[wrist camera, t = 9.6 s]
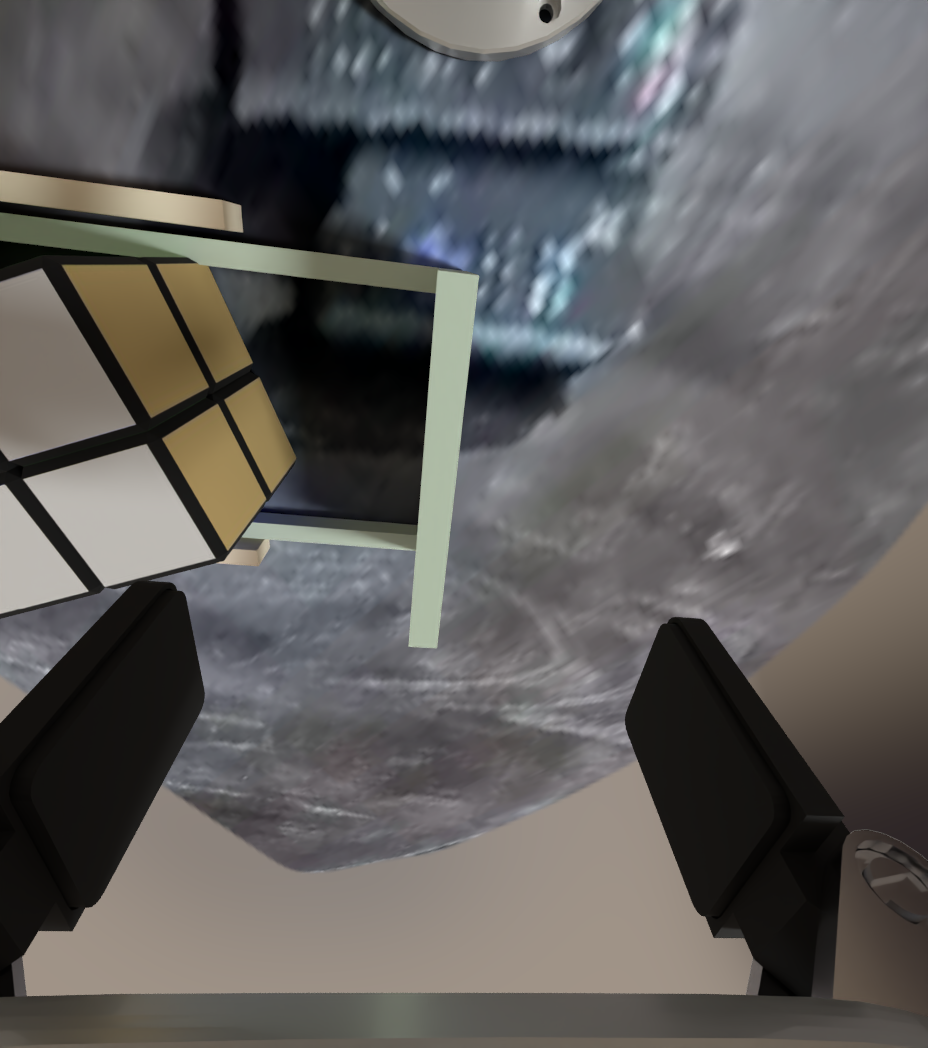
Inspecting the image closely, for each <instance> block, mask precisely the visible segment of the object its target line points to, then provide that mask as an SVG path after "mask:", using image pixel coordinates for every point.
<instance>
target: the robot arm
mask: <svg viewBox="0 0 928 1048" xmlns="http://www.w3.org/2000/svg"><path fill="white" fill-rule="evenodd" d="M370 1H371V2H372V4H373V5H374V6H375V7H376V9H377V10H378V11H380V12H381V13H382V14H383V15H384V16H385V17H386V18H387V19H389V20H390V21H391V22H392V23H393V24H394V25H395V26H397V27H398V28H399V29H400V30H401V31H402V32H403V33H405V34H406V35H408V36H409V37H411V38H413V39H415V40H416V41H418V42H420V43H422V44H423V45H425V46H427V47H429V48H430V49H432V50H434V51H436V52H439V53H443V54H446V55H450V56H453V57H456V58H460V59H463V60H468V61H496V62H498V61H502V60H507V59H512V58H516V57H521V56H525V55H529V54H531V53H533V52H535V51H537V50H539V49H542V48H544V47H546V46H548V45H550V44H552V43H554V42H556V41H558V40H560V39H561V38H562V37H563V36H565V35H566V34H567V33H569V32H570V31H571V30H572V29H574V28H575V27H576V26H577V25H579V24H580V23H581V22H583V21H584V20H585V19H586V18H588V17H589V15H590V14H591V13H592V12H593V11H594V10H595V9H596V7H597V6H598V5H599V4H600V3H601V2H602V1H603V0H370ZM543 9H546V10H548V11H549V12H550V14H551V21H550V22H549V23H544V22H543V21H541V20H540V18H539V12H540V11H541V10H543ZM204 696H205V692H204V686H203V681H202V676H201V671H200V666H199V661H198V656H197V651H196V646H195V641H194V636H193V631H192V626H191V621H190V616H189V611H188V606H187V601H186V596H185V594H184V593H183V592H182V591H177V589H176V586H175V585H174V584H173V583H170V582H155V581H141V580H140V581H136V582H135V583H133V584H132V585H131V586H130V587H129V588H128V589H127V590H126V591H125V592H124V593H123V594H122V596H121V597H120V598H119V599H118V600H117V601H116V602H115V603H114V604H113V605H112V606H111V607H110V608H109V609H108V610H107V611H106V612H105V613H104V614H103V616H102V617H101V618H100V619H99V620H98V621H97V622H96V623H95V624H94V625H93V626H92V627H91V628H90V629H89V630H88V631H87V632H86V633H85V635H84V636H83V637H82V638H81V639H80V640H79V641H78V642H77V643H76V644H75V645H74V646H73V647H72V648H71V649H70V650H69V651H68V652H67V654H66V655H65V656H64V657H63V658H62V659H61V660H60V661H59V662H58V663H57V664H56V665H55V666H54V667H53V668H52V669H51V670H50V671H49V672H48V674H47V675H46V676H45V677H44V678H43V679H42V680H41V681H40V682H39V683H38V684H37V685H36V686H35V687H34V688H33V689H32V690H31V691H30V693H29V694H28V695H27V696H26V697H25V698H24V699H23V700H22V701H21V702H20V703H19V704H18V705H17V706H16V707H15V708H14V709H13V710H12V711H11V713H10V714H9V715H8V716H7V717H6V718H5V719H4V720H3V721H2V722H1V723H0V1048H928V861H927V860H926V859H925V858H924V857H923V856H922V855H920V854H919V853H917V852H916V851H914V850H913V849H912V848H910V847H909V846H907V845H906V844H904V843H903V842H901V841H899V840H896V839H894V838H892V837H890V836H888V835H886V834H883V833H880V832H875V831H872V830H855V831H853V832H852V833H849V831H848V830H847V828H846V827H845V825H844V824H843V823H842V819H843V818H844V815H843V814H842V812H841V811H840V810H839V808H838V807H837V805H836V804H835V803H834V801H833V800H832V798H831V797H830V796H829V794H828V793H827V791H826V790H825V789H824V787H823V786H822V784H821V783H820V781H819V780H818V779H817V777H816V776H815V775H814V773H813V772H812V771H811V769H810V767H809V766H808V765H807V763H806V762H805V760H804V759H803V758H802V756H801V755H800V754H799V752H798V751H797V749H796V748H795V746H794V745H793V744H792V742H791V741H790V739H789V738H788V737H787V735H786V734H785V732H784V731H783V730H782V728H781V727H780V725H779V724H778V722H777V721H776V720H775V718H774V717H773V716H772V714H771V713H770V711H769V710H768V708H767V707H766V706H765V704H764V703H763V701H762V700H761V699H760V697H759V696H758V694H757V693H756V692H755V690H754V689H753V688H752V686H751V685H750V683H749V682H748V680H747V679H746V678H745V676H744V675H743V673H742V672H741V671H740V669H739V668H738V666H737V665H736V664H735V662H734V661H733V659H732V658H731V657H730V655H729V654H728V652H727V651H726V649H725V648H724V647H723V645H722V644H721V642H720V641H719V640H718V638H717V637H716V635H715V634H714V633H713V631H712V630H711V628H710V627H709V626H708V624H707V623H706V622H705V621H704V620H702V619H696V618H682V617H673V618H671V619H670V620H669V621H668V623H667V624H662V625H661V626H660V628H659V630H658V633H657V635H656V638H655V640H654V643H653V645H652V648H651V651H650V653H649V656H648V658H647V661H646V663H645V666H644V668H643V671H642V673H641V676H640V679H639V681H638V684H637V686H636V689H635V691H634V694H633V696H632V699H631V701H630V704H629V707H628V709H627V712H626V716H625V725H626V730H627V733H628V736H629V739H630V741H631V744H632V746H633V749H634V752H635V754H636V757H637V759H638V762H639V765H640V767H641V770H642V773H643V775H644V778H645V780H646V783H647V785H648V788H649V791H650V793H651V796H652V799H653V801H654V804H655V806H656V809H657V812H658V814H659V817H660V820H661V822H662V825H663V827H664V830H665V833H666V835H667V838H668V840H669V843H670V846H671V848H672V851H673V854H674V856H675V859H676V861H677V864H678V867H679V869H680V872H681V874H682V877H683V880H684V882H685V885H686V888H687V890H688V893H689V895H690V898H691V901H692V903H693V905H694V907H695V909H696V910H697V912H698V913H699V914H700V915H701V916H705V917H706V919H707V922H708V924H709V927H710V930H711V932H712V935H713V937H714V938H745V940H746V942H747V944H748V947H749V949H750V951H751V954H752V956H753V961H752V966H751V972H750V977H749V982H748V987H747V992H746V995H719V994H604V993H236V994H235V993H232V994H104V995H66V996H27V995H26V987H25V979H24V970H23V961H22V956H23V955H24V954H25V952H26V951H27V949H28V947H29V946H30V944H31V942H32V941H33V939H34V937H35V936H36V934H37V932H38V931H73V929H74V927H75V925H76V924H77V922H78V920H79V918H80V916H81V914H82V913H83V911H84V909H85V908H87V907H92V906H93V905H95V904H96V903H97V902H98V900H99V899H100V898H101V896H102V895H103V893H104V891H105V889H106V888H107V886H108V884H109V882H110V880H111V878H112V876H113V874H114V873H115V871H116V869H117V867H118V865H119V863H120V861H121V859H122V857H123V856H124V854H125V852H126V850H127V848H128V846H129V844H130V842H131V841H132V839H133V837H134V835H135V833H136V831H137V829H138V828H139V826H140V824H141V822H142V820H143V818H144V816H145V815H146V812H147V811H148V809H149V807H150V805H151V803H152V801H153V800H154V798H155V796H156V794H157V792H158V790H159V788H160V786H161V785H162V783H163V781H164V779H165V777H166V775H167V773H168V771H169V770H170V768H171V766H172V764H173V762H174V760H175V758H176V757H177V755H178V753H179V751H180V749H181V747H182V745H183V743H184V742H185V740H186V738H187V736H188V734H189V732H190V730H191V728H192V727H193V725H194V723H195V721H196V719H197V717H198V715H199V713H200V711H201V709H202V706H203V703H204Z"/></svg>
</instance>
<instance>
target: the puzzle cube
mask: <svg viewBox="0 0 928 1048" xmlns="http://www.w3.org/2000/svg"><path fill="white" fill-rule="evenodd" d="M252 364H253V362H252V360H251V358H250V355H249V353H248V351H247V349H246V347H245V345H244V342H243V340H242V338H241V336H240V334H239V332H238V329H237V327H236V325H235V323H234V321H233V319H232V316H231V314H230V312H229V310H228V308H227V306H226V303H225V301H224V299H223V297H222V295H221V293H220V290H219V288H218V286H217V284H216V282H215V280H214V277H213V275H212V273H211V271H210V269H209V266H206V265H199V264H198V263H197V262H195V261H193V260H191V259H190V258H188V257H141V258H138V259H136V258H134V257H104V256H59V255H42V256H38V257H35V258H32V259H29V260H26V261H23V262H20V263H17V264H14V265H11V266H8V267H5V268H2V269H0V619H1V618H5V617H9V616H13V615H16V614H20V613H24V612H28V611H32V610H36V609H40V608H44V607H47V606H51V605H55V604H59V603H63V602H67V601H71V600H75V599H78V598H82V597H86V596H90V595H94V594H98V593H100V592H101V591H102V590H103V589H104V588H111V589H117V588H121V587H125V586H129V585H132V584H133V583H135V582H136V581H140V580H141V581H148V580H152V579H156V578H160V577H164V576H168V575H172V574H175V573H179V572H183V571H187V570H191V569H195V568H199V567H203V566H206V565H210V564H214V563H218V562H222V561H224V560H225V559H226V558H227V556H228V555H229V554H230V552H231V551H232V549H233V548H234V547H235V545H236V544H237V543H238V541H239V540H240V539H241V537H242V536H243V534H244V533H245V532H246V530H247V529H248V528H249V526H250V525H251V523H252V522H253V521H254V519H255V518H256V517H257V515H258V514H259V513H260V511H261V510H262V508H263V507H264V504H265V502H267V501H269V499H270V498H271V497H272V495H273V494H274V492H275V491H276V490H277V488H278V487H279V485H280V484H281V483H282V481H283V480H284V478H285V477H286V476H287V474H288V473H289V471H290V470H291V469H292V467H293V466H294V464H295V462H296V459H297V458H296V456H295V453H294V451H293V449H292V447H291V445H290V443H289V440H288V438H287V436H286V434H285V432H284V430H283V427H282V425H281V423H280V421H279V419H278V417H277V414H276V412H275V410H274V408H273V406H272V404H271V401H270V399H269V397H268V395H267V393H266V391H265V388H264V386H263V384H262V382H261V380H260V378H259V377H258V376H257V375H255V374H253V373H251V372H250V370H251V367H252ZM248 372H249V373H248Z"/></svg>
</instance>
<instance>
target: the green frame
mask: <svg viewBox="0 0 928 1048" xmlns="http://www.w3.org/2000/svg"><path fill="white" fill-rule="evenodd" d="M0 241H9V242H17V243H25V244H33V245H41V246H50V247H58V248H66V249H74V250H82V251H91V252H99V253H107V254H115V255H124V256H132V257H140V258H141V257H188V258H190V259H191V260H193V261H195V262H197V263H198V264H199V265H206V266H214V267H222V268H230V269H238V270H247V271H255V272H263V273H271V274H280V275H288V276H296V277H304V278H312V279H321V280H329V281H337V282H345V283H353V284H362V285H370V286H378V287H386V288H395V289H403V290H411V291H419V292H427V293H436V298H435V311H434V324H433V337H432V350H431V363H430V376H429V389H428V402H427V415H426V428H425V440H424V453H423V466H422V479H421V492H420V505H419V518H418V525H410V524H398V523H386V522H373V521H361V520H349V519H336V518H324V517H312V516H299V515H287V514H275V513H263V512H260V513H259V514H258V515H257V517H256V518H255V519H254V521H253V522H252V523H251V525H250V526H249V528H248V529H247V530H246V532H245V533H244V534H243V536H242V537H243V538H256V539H269V540H282V541H295V542H308V543H321V544H334V545H347V546H360V547H373V548H386V549H399V550H412V551H416V557H415V570H414V583H413V596H412V608H411V621H410V634H409V647H423V648H437V643H438V634H439V625H440V616H441V607H442V599H443V590H444V581H445V572H446V563H447V554H448V545H449V537H450V528H451V519H452V510H453V501H454V492H455V483H456V475H457V466H458V457H459V448H460V439H461V430H462V422H463V413H464V404H465V395H466V386H467V377H468V368H469V360H470V351H471V342H472V333H473V324H474V315H475V306H476V298H477V289H478V280H479V275H476V274H473V273H470V272H467V271H460V270H452V269H444V268H436V267H429V266H421V265H413V264H405V263H397V262H389V261H381V260H373V259H365V258H357V257H349V256H341V255H334V254H326V253H318V252H310V251H302V250H294V249H286V248H278V247H270V246H262V245H254V244H246V243H239V242H231V241H223V240H215V239H207V238H199V237H191V236H183V235H175V234H167V233H159V232H151V231H144V230H136V229H128V228H120V227H112V226H104V225H96V224H88V223H80V222H72V221H64V220H56V219H48V218H41V217H33V216H25V215H17V214H9V213H1V212H0Z"/></svg>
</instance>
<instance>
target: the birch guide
mask: <svg viewBox="0 0 928 1048" xmlns="http://www.w3.org/2000/svg"><path fill="white" fill-rule="evenodd" d="M0 202H8V203H16V204H23V205H31V206H39V207H47V208H55V209H63V210H70V211H78V212H86V213H94V214H102V215H109V216H117V217H125V218H133V219H141V220H148V221H156V222H164V223H172V224H180V225H187V226H195V227H203V228H211V229H219V230H227V231H234V232H242V233H243V225H242V213H241V205H237V204H234V203H231V202H227V201H224V200H218V199H210V198H203V197H195V196H188V195H180V194H173V193H165V192H158V191H150V190H143V189H135V188H128V187H120V186H113V185H105V184H98V183H90V182H83V181H75V180H67V179H60V178H52V177H45V176H37V175H30V174H22V173H15V172H7V171H0ZM269 548H270V543H269V539H256V538H243V537H241V539H240V540H239V541H238V543H237V544H236V545H235V547H234V548H233V549H232V551H231V552H230V554H229V555H228V556H227V558H226V559H225V560H224V561H222V562H218V563H221V564H235V565H249V566H259V565H260V563H261V561H262V560H263V558H264V556H265V555H266V553H267V552H268V550H269Z"/></svg>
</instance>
